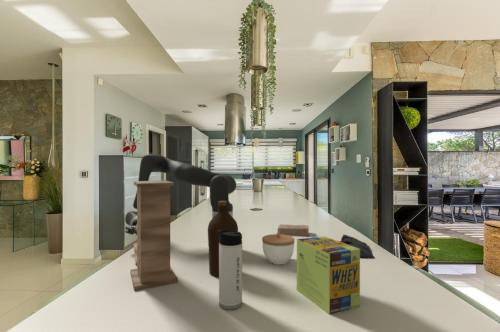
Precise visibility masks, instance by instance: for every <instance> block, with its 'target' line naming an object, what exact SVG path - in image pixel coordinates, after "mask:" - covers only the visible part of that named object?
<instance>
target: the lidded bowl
mask: <svg viewBox="0 0 500 332" xmlns="http://www.w3.org/2000/svg"><path fill="white" fill-rule="evenodd" d="M261 239H262V251H263V254H264V257H265V258H266V259H267V260H268V262H269V263H270V264H272V263H273V265H285V264H287V263H288V262H289V261H290V260H291V258H293V255H294V251H295V242H296V241H295V237H293V235H283V234H280V233H278V232H277V233H274V234H273V233H272V234H267V235H263V236H262V238H261Z"/></svg>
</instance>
